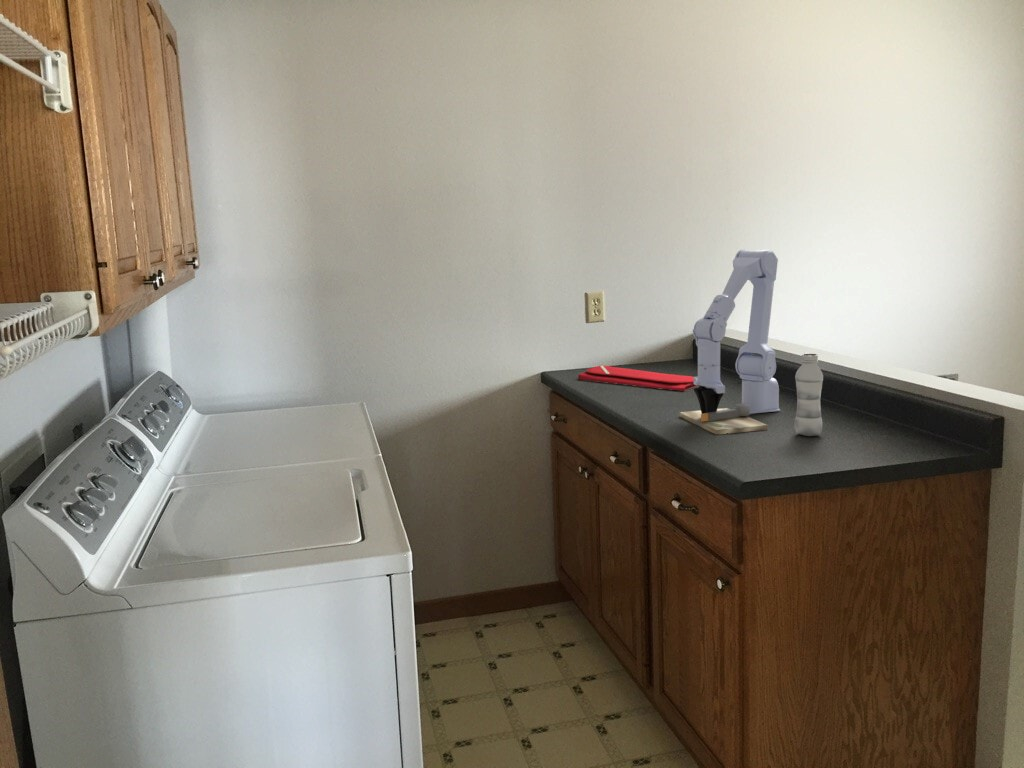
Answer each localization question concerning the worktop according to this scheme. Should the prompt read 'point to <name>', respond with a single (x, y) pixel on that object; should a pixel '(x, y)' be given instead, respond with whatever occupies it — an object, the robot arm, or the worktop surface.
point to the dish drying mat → (637, 378)
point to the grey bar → (727, 413)
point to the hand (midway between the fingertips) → (708, 415)
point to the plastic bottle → (808, 396)
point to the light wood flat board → (724, 423)
